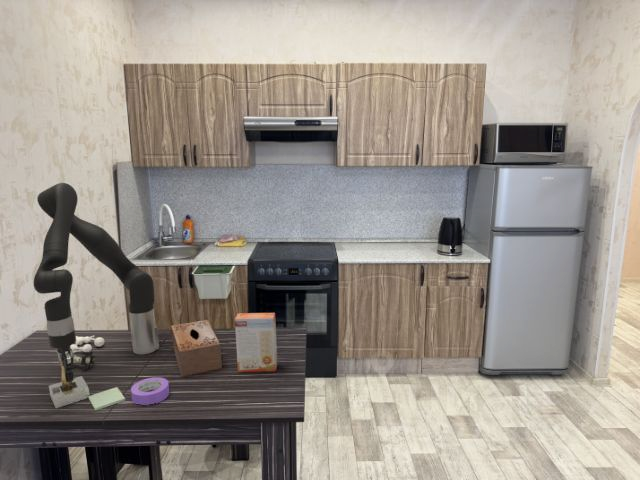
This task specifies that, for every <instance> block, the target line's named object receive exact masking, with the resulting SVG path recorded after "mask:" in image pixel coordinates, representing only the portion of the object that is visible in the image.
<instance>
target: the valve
mask: <svg viewBox="0 0 640 480" xmlns="http://www.w3.org/2000/svg"><path fill="white" fill-rule="evenodd" d="M84 354H85V355H82V356H77V355H76V354H74V359H73V361H74V363H76V362H77V363H78V362H79V363H80V366H83V367H82V369H83V370H87V369H91V368H92V366H91V365H94V364H95V361H94V359H95V358H96V356H95V355H94V352H93V351H92V350H91V351H90V352H84Z"/></svg>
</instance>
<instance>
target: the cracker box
mask: <svg viewBox="0 0 640 480" xmlns="http://www.w3.org/2000/svg"><path fill="white" fill-rule="evenodd" d="M276 323H277V322H276V313H275V312H250V313H249V312H247V313H246V312H245V313H243V312H242V313H241V312H240V313H239V312H238V313H237V314H236V316H235V318H234V325H235V327H234V328H235V344H236V345H235V346H236V361H237V371H238V373H241V372H242V373H243V372H244V373H249V372H251V373H253V372H254V373H255V372H256V373H257V372H276V371H277V367H278V352H277V351H278V350H277V349H278V348H277V347H278V346H277V328H276V327H277V325H276Z"/></svg>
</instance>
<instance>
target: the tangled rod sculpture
mask: <svg viewBox="0 0 640 480" xmlns="http://www.w3.org/2000/svg"><path fill="white" fill-rule="evenodd" d="M91 341H94V342H93V343H94V345H95V347H98V348H99V347H102V346H103V345H104V344H105V339H104V338H103V337H96V338H95V335H91V336H78V335H76V342H75V343H74V344H72V345H71V346H70V347H71V349H72V351H73V352H74V353H77V352H84V353H85V352H90V351H91V352H92V350H93V347H92V344H89V343H90V342H91ZM84 343H85V344H84ZM83 344H84V345H83ZM81 345H83V346H81ZM79 346H80V347H79Z"/></svg>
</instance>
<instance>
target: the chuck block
mask: <svg viewBox="0 0 640 480" xmlns="http://www.w3.org/2000/svg"><path fill="white" fill-rule="evenodd" d="M48 390H49V396H50V399H51V401H52V403H53V406H54V408H55V409H58V408H62V407H64V406H67V405H71V404H74V403H76V402H79V401H84V400H86V399H89V398H88V396H91V394H90V389H89V386H88V384H87V383H86V381H85V379H84V377H83V376H81V375H80V376H76V377H74V380H73V381H72V389H70V390H67V391H64V392H63V391H62V381H61V382H57V383H54V384H53V383H52V384H50V385H48Z"/></svg>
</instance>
